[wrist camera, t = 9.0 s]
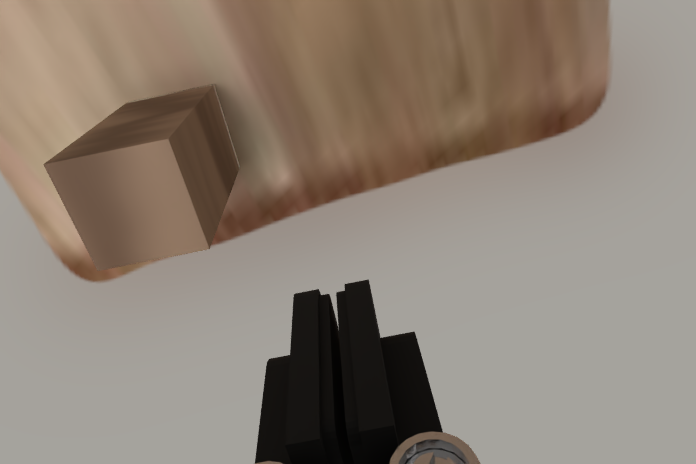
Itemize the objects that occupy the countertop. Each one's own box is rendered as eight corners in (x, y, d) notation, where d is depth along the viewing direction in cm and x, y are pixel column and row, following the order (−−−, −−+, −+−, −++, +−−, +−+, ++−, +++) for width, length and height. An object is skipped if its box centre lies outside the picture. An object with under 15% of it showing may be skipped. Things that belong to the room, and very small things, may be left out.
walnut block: (214, 84, 28) (168, 138, 19) (239, 166, 31) (209, 248, 22) (127, 102, 28) (43, 164, 20) (160, 182, 31) (97, 270, 22)
